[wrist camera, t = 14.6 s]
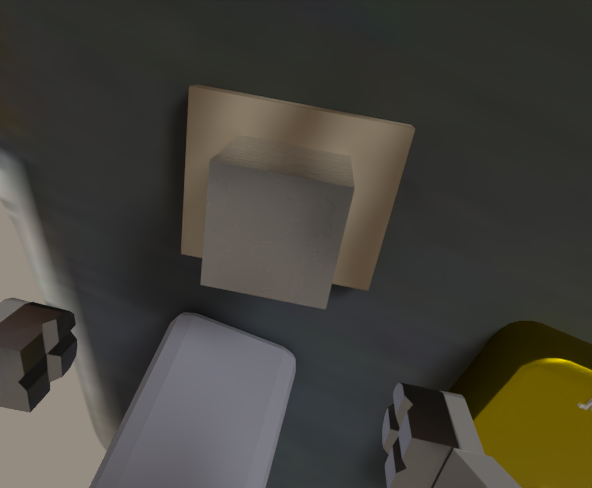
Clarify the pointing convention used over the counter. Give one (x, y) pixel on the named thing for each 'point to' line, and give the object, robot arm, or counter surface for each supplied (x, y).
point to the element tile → (533, 404)
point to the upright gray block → (275, 220)
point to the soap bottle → (202, 411)
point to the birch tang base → (307, 133)
